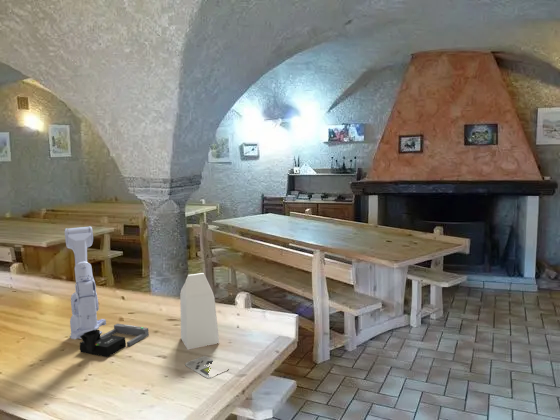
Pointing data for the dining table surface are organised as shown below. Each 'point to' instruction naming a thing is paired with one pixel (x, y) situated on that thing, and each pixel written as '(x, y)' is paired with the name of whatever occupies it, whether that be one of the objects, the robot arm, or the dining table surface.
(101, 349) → the battery charger
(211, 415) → the dining table surface
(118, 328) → the grey u-shaped bracket
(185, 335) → the milk
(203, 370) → the handheld gaming device
